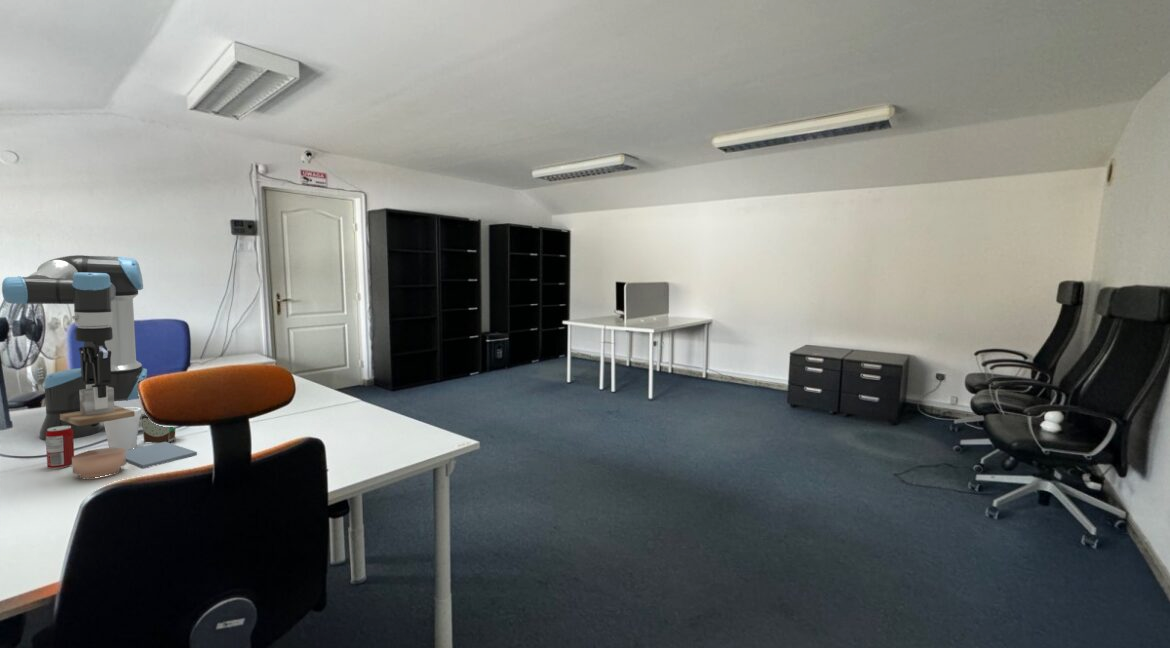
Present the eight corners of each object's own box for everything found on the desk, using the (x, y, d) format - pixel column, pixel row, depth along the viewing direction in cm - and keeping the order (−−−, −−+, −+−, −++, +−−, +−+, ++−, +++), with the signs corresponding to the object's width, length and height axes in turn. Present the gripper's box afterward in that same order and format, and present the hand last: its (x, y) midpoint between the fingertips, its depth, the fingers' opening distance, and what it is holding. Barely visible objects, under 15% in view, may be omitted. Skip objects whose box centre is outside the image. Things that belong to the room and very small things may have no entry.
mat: (112, 456, 155) (112, 453, 155) (165, 444, 168) (165, 441, 168) (143, 468, 147) (143, 465, 147) (196, 454, 159) (196, 451, 159)
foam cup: (98, 455, 156) (96, 415, 155) (109, 446, 164) (108, 408, 163) (137, 451, 161) (135, 412, 160) (146, 442, 169) (145, 406, 168)
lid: (60, 419, 138) (58, 389, 137) (115, 410, 149) (114, 382, 148) (78, 426, 133) (77, 395, 132) (134, 416, 143) (133, 387, 143)
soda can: (73, 461, 150) (71, 423, 149) (75, 466, 147) (73, 427, 146) (46, 466, 146) (44, 427, 145) (48, 470, 143) (46, 430, 142)
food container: (188, 438, 174) (187, 411, 174) (172, 444, 168) (171, 416, 168) (157, 436, 176) (156, 409, 175) (140, 442, 169) (139, 414, 169)
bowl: (65, 476, 139) (64, 455, 139) (115, 464, 149) (115, 445, 149) (82, 484, 134) (81, 463, 134) (133, 471, 144) (132, 451, 144)
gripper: (62, 325, 139) (66, 405, 141) (89, 329, 131) (93, 414, 133) (97, 323, 146) (101, 400, 147) (125, 328, 138) (128, 408, 140)
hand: (97, 407), depth 140 cm, fingers closed on lid, 4 cm apart
